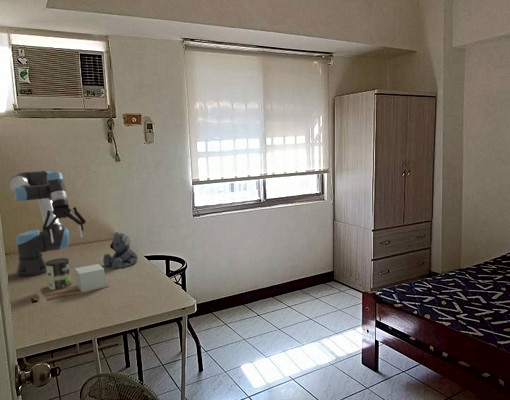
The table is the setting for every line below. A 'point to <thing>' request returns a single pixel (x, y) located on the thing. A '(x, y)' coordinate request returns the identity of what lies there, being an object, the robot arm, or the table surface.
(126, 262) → the koala plush
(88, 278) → the pale green block
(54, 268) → the coffee can
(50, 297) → the board
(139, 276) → the table surface
